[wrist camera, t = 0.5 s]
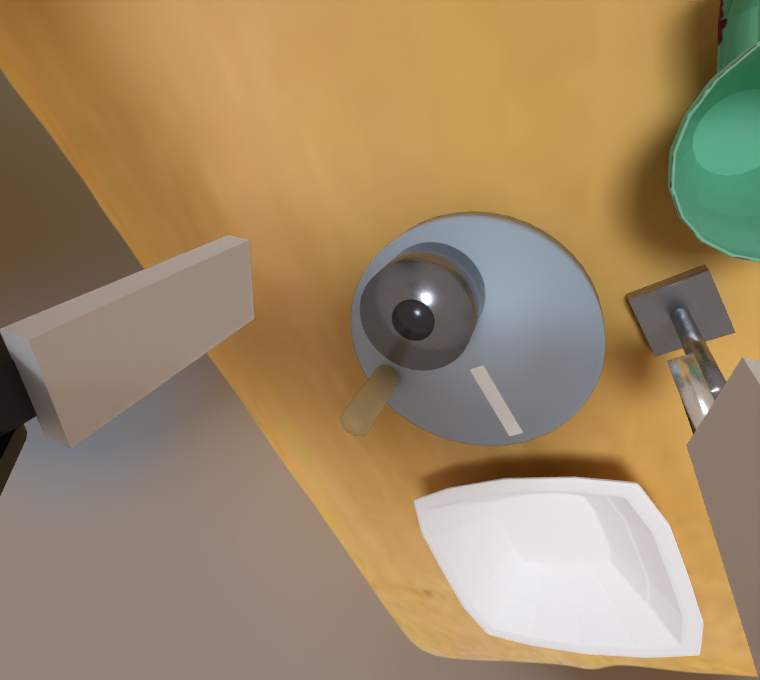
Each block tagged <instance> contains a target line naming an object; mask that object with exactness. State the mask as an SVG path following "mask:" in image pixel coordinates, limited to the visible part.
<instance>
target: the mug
mask: <svg viewBox="0 0 760 680" xmlns="http://www.w3.org/2000/svg"><path fill="white" fill-rule="evenodd" d="M667 185H668V188H669V191H670V194H671V197H672V200H673V203H674V206H675V209H676V212H677V215H678V216H679V218H680V219H681V220H682V221H683V222H684V223H685V224H686V226H687V227H688V228H689V229H690V230H691V231H692V232H693V233H694V235H695V236H696V237H697V238H698V239H699V240H700V241H701V242H703V243H705V244H706V245H708V246H710V247H712V248H714V249H716V250H718V251H720V252H722V253H724V254H726V255H728V256H730V257H733V258H739V259H745V260H750V261H756V262H760V0H721V4H720V10H719V17H718V52H717V74H716V75H715V76H714V77H713V78H711V79H710V80H709V82H708V83H707V84H706V86H705V87H704V88H703V90H702V91H701V92H700V94H699V95H698V96H697V98H696V99H695V100H694V102H693V103H692V105H691V106H690V107H689V109H688V110H687V111H686V113H685V114H684V115H683V118H682V120H681V123H680V125H679V128H678V130H677V133H676V135H675V138H674V141H673V143H672V146H671V148H670V151H669V165H668V183H667Z"/></svg>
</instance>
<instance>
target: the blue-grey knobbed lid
mask: <svg viewBox="0 0 760 680" xmlns="http://www.w3.org/2000/svg"><path fill="white" fill-rule="evenodd" d="M424 242H437V243H443V244H447V245H449V246H452V247H454V248H456V249H458V250H460V251H461V252H463V253H464V254H465V255H466V256H468V257H469V258H470V259H471V260H472V262H473V263H474V264H475V265H476V267H477V268H478V270H479V272H480V274H481V276H482V278H483V281H484V285H485V295H486V297H485V305H484V308H483V311H482V314H481V316H480V318H479V320H478V323H477V325H476V327H475V329H474V332H473V334H472V336H471V338H470V341H469V343H468V345H467V347H466V349H465V350H464V352H463V353H462V354H461V355H460V356H459V357H458V358H457V359H456V360H455V361H453V362H452V363H450V364H449V365H447V366H444V367H442V368H439V369H435V370H425V371H421V370H413V369H408V368H405V367H402V366H400V365H397V364H395V363H393V362H392V361H390V360H388V359H387V358H386V357H384V356H383V355H382V354H381V353H380V352H378V351H377V349H376V348H375V347H374V346H373V345H372V343H371V342H370V341H369V339H368V337H367V336H366V334H365V331H364V329H363V326H362V323H361V318H360V300H361V296H362V293H363V291H364V288H365V287H366V285H367V283H368V282H369V281H370V279H371V278H372V277H373V276H374V275H376V274H377V273H378V272H379V271H380V270H381V269H382V268H383V267H385V266H386V265H387V264H388V263H389V262H390V261H391V260H393V259H394V258H395V257H396V256H397V255H398V254H399V253H401V252H402V251H403V250H405V249H406V248H408V247H410V246H412V245H415V244H418V243H424ZM351 332H352V338H353V344H354V348H355V351H356V354H357V358H358V360H359V362H360V365H361V367H362V369H363V371H364V373H365V375H366V376H367V378H368V380H367V382H366V383H365V384H364V386H363V387H362V388H361V390H360V391H359V392H358V394H357V395H356V396H355V398H354V399H353V400H352V402H351V403H350V404H349V406H348V407H347V408H346V410H345V411H344V412H343V414H342V415H341V424H342V426H343V428H344V429H345V430H346V431H347V432H348V433H350V434H352V435H354V436H364V435H366V434H367V433H368V431H369V430H370V428H371V426H372V425H373V423H374V422H375V420H376V418H377V417H378V415H379V414H380V412H381V410H382V409H383V407H384V406H385V404H386V403H387V404H388V405H390V406H391V407H392V408H393V409H394V410H395V411H396V412H397V413H399V414H400V415H401V416H403V417H404V418H406V419H407V420H408V421H410V422H411V423H413V424H415V425H416V426H418V427H420V428H422V429H424V430H426V431H428V432H430V433H432V434H434V435H437V436H440V437H443V438H446V439H448V440H452V441H456V442H460V443H465V444H472V445H484V446H498V445H509V444H515V443H521V442H525V441H528V440H531V439H535V438H537V437H540V436H542V435H544V434H547V433H549V432H551V431H552V430H554V429H556V428H557V427H559V426H561V425H562V424H564V423H565V422H566V421H567V420H569V419H570V418H571V417H572V416H574V415H575V414H576V413H577V411H578V410H579V409H580V408H581V407H582V406H583V405H584V404H585V402H586V401H587V399H588V398H589V396H590V395H591V393H592V392H593V390H594V388H595V386H596V384H597V382H598V379H599V377H600V374H601V370H602V366H603V363H604V354H605V333H604V322H603V314H602V309H601V305H600V301H599V297H598V295H597V292H596V290H595V287H594V285H593V282H592V281H591V279H590V277H589V276H588V274H587V272H586V271H585V269H584V267H583V266H582V265H581V264H580V263H579V261H578V260H577V259H576V258H575V256H574V255H573V254H572V253H571V252H570V251H569V250H568V249H567V248H566V247H564V246H563V245H562V244H561V243H560V242H559V241H558V240H556V239H555V238H553V237H552V236H550V235H549V234H547V233H546V232H545V231H543V230H541V229H539V228H537V227H535V226H533V225H531V224H529V223H527V222H524V221H521V220H518V219H515V218H513V217H510V216H505V215H500V214H495V213H488V212H458V213H452V214H447V215H442V216H438V217H435V218H432V219H429V220H427V221H424V222H422V223H420V224H418V225H416V226H414V227H412V228H410V229H409V230H407V231H406V232H405V233H403V234H402V235H400V236H399V237H398V238H396V239H395V240H394V241H392V242H391V243H390V244H389V245H387V246H386V247H385V248H384V249H383V250H382V251H381V252H380V253H379V254H378V255H377V256H376V257H375V258H374V259H373V261H372V262H371V263H370V264H369V266H368V267H367V268H366V270H365V272H364V274H363V276H362V277H361V279H360V281H359V284H358V286H357V289H356V292H355V295H354V299H353V304H352V312H351Z"/></svg>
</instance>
